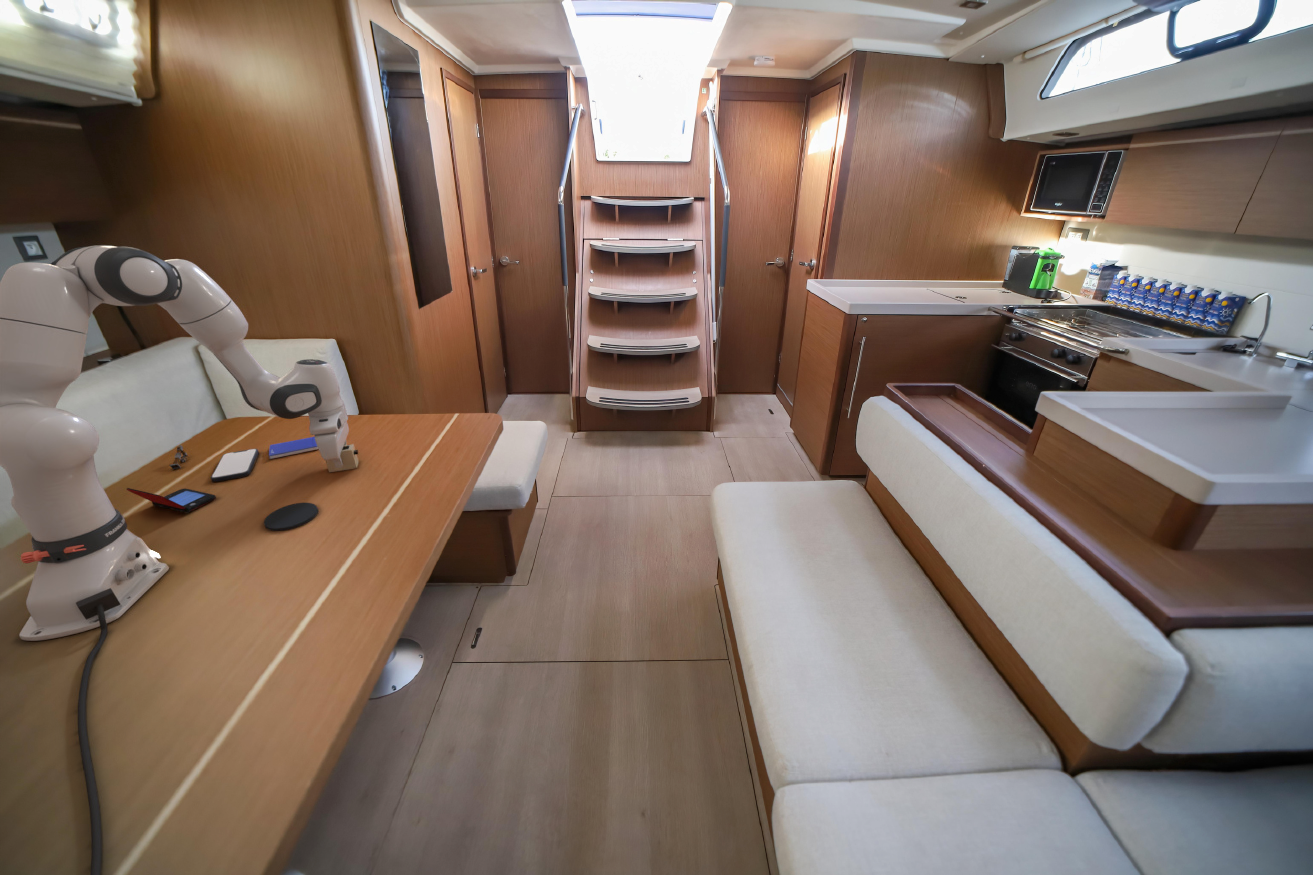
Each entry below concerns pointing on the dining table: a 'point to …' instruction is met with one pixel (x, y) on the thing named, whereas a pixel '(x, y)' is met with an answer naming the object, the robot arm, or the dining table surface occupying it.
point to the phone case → (235, 465)
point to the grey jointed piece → (178, 456)
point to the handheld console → (178, 499)
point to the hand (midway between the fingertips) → (342, 459)
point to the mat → (291, 516)
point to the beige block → (345, 459)
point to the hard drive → (292, 447)
